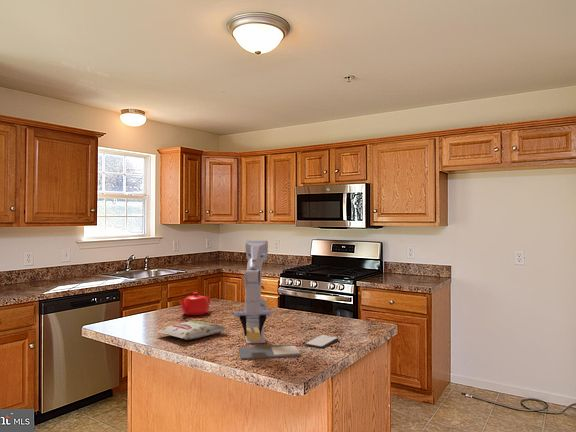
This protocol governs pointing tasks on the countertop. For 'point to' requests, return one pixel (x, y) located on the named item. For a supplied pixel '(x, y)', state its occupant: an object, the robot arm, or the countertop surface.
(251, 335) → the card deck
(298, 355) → the mat
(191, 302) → the teapot
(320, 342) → the phone case
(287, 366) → the countertop surface
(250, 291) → the robot arm
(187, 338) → the frozen beans
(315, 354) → the countertop surface
